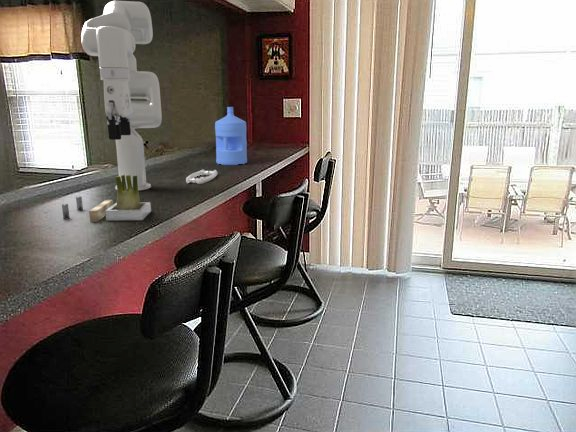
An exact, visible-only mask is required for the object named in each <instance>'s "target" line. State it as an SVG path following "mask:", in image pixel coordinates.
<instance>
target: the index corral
mask: <svg viewBox="0 0 576 432" xmlns="http://www.w3.org/2000/svg"><path fill="white" fill-rule="evenodd" d="M151 205H152V204H151V202H150V201H148V202H145V201H144V202H140V206H139V210H117V202H115V203H113V205H112V206H111V207H110V208H108V209H107V210H105V215H106V216H105V221H107V222H108V221H144V219H145V218H146V217H147V216H148V215H150V213H151V212H152V207H151Z"/></svg>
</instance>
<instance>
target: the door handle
mask: <svg viewBox="0 0 576 432" xmlns="http://www.w3.org/2000/svg"><path fill="white" fill-rule="evenodd" d="M200 175H201V176H200ZM205 175H206V176H205ZM197 176H198V177H197ZM204 176H205V177H204ZM217 176H218V171H217V170H216V169H214V170H205V169H200V170H198V171H196V172H193V173H191V174H189V175H188V176H186V178H185V183H186V184H190V183H192V184H198V185H202V184H205V183H208V182H210V181H212V180H214V179H215V178H216V177H217Z"/></svg>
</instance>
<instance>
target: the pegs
mask: <svg viewBox="0 0 576 432" xmlns="http://www.w3.org/2000/svg"><path fill="white" fill-rule="evenodd" d="M75 201H76V210H77V211H83V210H84V206H83V205H84V204H83V197H82V196H80V195H77V196H75ZM61 211H62V217H63V220H67V219H70V217H71V216H70V211H69V204H68V203H62V204H61Z"/></svg>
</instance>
